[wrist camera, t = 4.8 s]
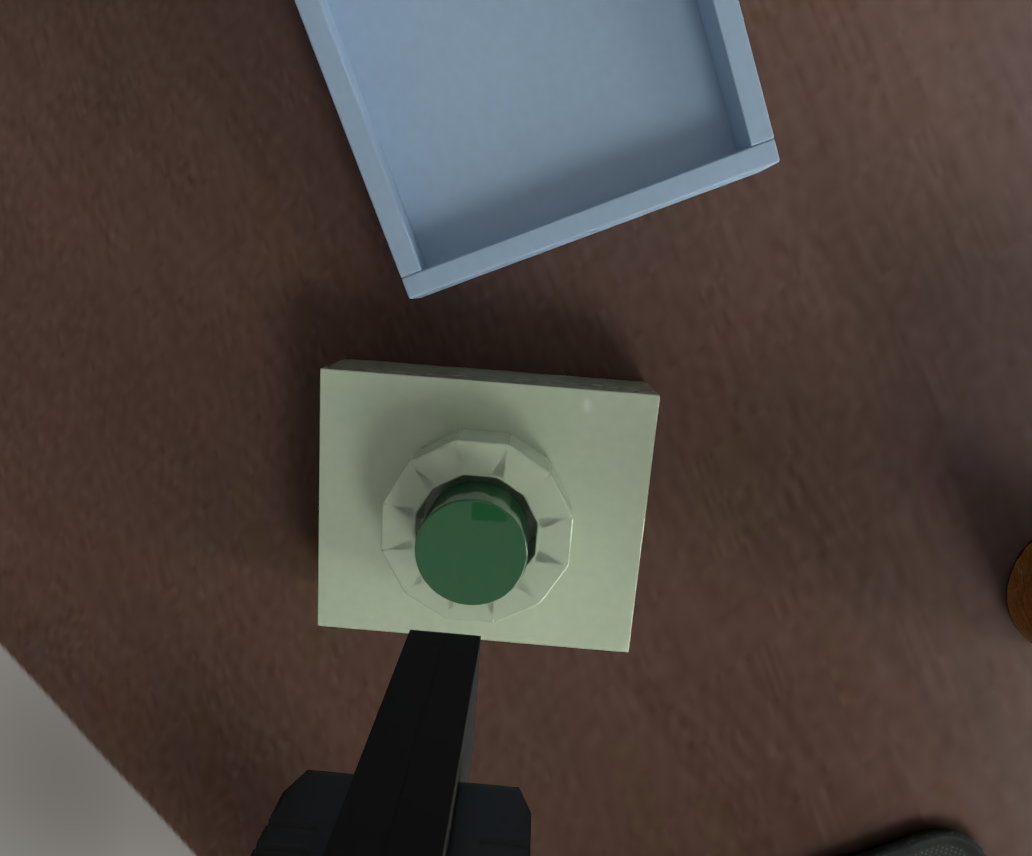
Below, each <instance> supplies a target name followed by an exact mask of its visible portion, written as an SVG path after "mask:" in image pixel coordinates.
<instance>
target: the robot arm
mask: <svg viewBox="0 0 1032 856" xmlns="http://www.w3.org/2000/svg"><path fill="white" fill-rule="evenodd" d="M480 643H481V636H477V635H466V634H454V633H443V632H432V631H420V630H410V631H409V634H408V636H407V639H406V642H405V644H404V647H403V649H402V652H401V655H400V657H399V660H398V662H397V665H396V667H395V670H394V673H393V675H392V678H391V680H390V683H389V686H388V688H387V691H386V693H385V696H384V698H383V701H382V704H381V706H380V709H379V711H378V714H377V717H376V719H375V722H374V724H373V727H372V730H371V732H370V735H369V737H368V740H367V742H366V745H365V748H364V750H363V753H362V755H361V758H360V761H359V763H358V766H357V768H356V771H355V773H354V774H346V773H336V772H325V771H314V770H307V771H306V772H305V773H304V774H303V775H301V776H300V777H299V778H298V779H297V780H296V781H295V782H294V783H293V784H292V785H291V786H289V787H288V788H287V789H286V790H285V791H284V792H283V794H282V795H281V797H280V799H279V801H278V803H277V805H276V807H275V809H274V811H273V813H272V815H271V817H270V819H269V823H268V826H266V827H265V829H264V830H263V832H262V834H261V836H260V838H259V840H258V842H257V846H256V849H254V850H253V852H252V854H251V856H530V838H531V812H530V810H529V808H528V806H527V804H526V802H525V799H524V797H523V795H522V793H521V791H520V789H519V787H508V786H498V785H487V784H476V783H468V780H469V773H470V766H471V760H472V753H473V743H474V729H475V715H476V700H477V686H478V672H479V657H480Z"/></svg>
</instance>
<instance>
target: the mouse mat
mask: <svg viewBox="0 0 1032 856" xmlns="http://www.w3.org/2000/svg"><path fill="white" fill-rule="evenodd" d="M855 856H985V852H984V850H983V849H982V848H981V847H980V846H979V844H978V843H976V842H975V841H974V840H973V839H972V838H970V837H968V836H966V835H964V834H962V833H960V832H956V831H953V830H949V829H932V830H927V831H923V832H919V833H917V834H914V835H911V836H908V837H905V838H903V839H900V840H897V841H895V842H892V843H889V844H885V845H882V846H879V847H877V848H875V849H873V850H869V851H866V852H863V853H860V854H857V855H855Z"/></svg>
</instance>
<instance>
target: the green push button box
mask: <svg viewBox="0 0 1032 856" xmlns="http://www.w3.org/2000/svg"><path fill="white" fill-rule="evenodd" d="M659 402H660V395H659V394H658V393H657V392H656V391H654V390H653V389H652V388H651V387H650V386H649V385H648V384H647V383H646V382H637V381H625V380H612V379H599V378H587V377H574V376H561V375H549V374H536V373H523V372H510V371H498V370H485V369H472V368H460V367H447V366H434V365H422V364H409V363H396V362H384V361H371V360H358V359H345V360H342V361H339V362H337V363H334V364H331V365H329V366H326V367H323V368H321V369H320V447H319V550H318V625H319V626H329V627H341V628H352V629H364V630H376V631H387V632H399V633H409V631H410V630H420V631H432V632H443V633H454V634H466V635H477V636H481V640H491V641H503V642H514V643H526V644H537V645H549V646H560V647H572V648H584V649H595V650H607V651H618V652H628V651H629V644H630V636H631V628H632V620H633V612H634V604H635V595H636V587H637V579H638V571H639V563H640V555H641V547H642V539H643V531H644V523H645V515H646V507H647V499H648V491H649V482H650V474H651V466H652V458H653V450H654V442H655V434H656V426H657V418H658V410H659ZM467 481H484V482H489V483H492V484H495V485H498V486H500V487H502V488H503V489H505V490H507V491H508V492H509V493H511V494H512V495H513V496H514V497H515V498H516V499H517V500H518V502H519V503H520V504H521V506H522V508H523V509H524V512H525V514H526V517H527V520H528V526H529V540H528V559H527V565H526V568H525V571H524V574H523V576H522V578H521V579H520V581H519V582H518V584H517V585H516V586H515V587H514V588H513V589H512V590H511V591H510V592H509V593H508V594H506V595H505V596H503V597H502V598H500V599H498V600H496V601H493V602H490V603H487V604H482V605H464V604H459V603H455V602H452V601H450V600H447V599H445V598H443V597H442V596H440V595H439V594H437V593H436V592H435V591H433V590H432V589H431V588H430V587H429V586H428V584H427V583H426V582H425V581H424V579H423V577H422V576H421V574H420V572H419V570H418V567H417V564H416V559H415V541H416V537H417V534H418V531H419V529H420V527H421V525H422V523H423V521H424V519H425V517H426V515H427V513H428V511H429V509H430V507H431V505H432V503H433V502H434V501H435V499H436V498H437V497H438V496H439V495H440V494H441V493H442V492H444V491H445V490H446V489H448V488H450V487H452V486H453V485H456V484H459V483H462V482H467Z"/></svg>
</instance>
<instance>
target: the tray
mask: <svg viewBox="0 0 1032 856" xmlns="http://www.w3.org/2000/svg"><path fill="white" fill-rule="evenodd" d="M294 1H295V3H296V6H297V8H298V11H299V14H300V16H301V19H302V21H303V24H304V27H305V29H306V32H307V34H308V37H309V40H310V42H311V45H312V47H313V50H314V53H315V55H316V58H317V60H318V63H319V66H320V68H321V71H322V73H323V76H324V79H325V81H326V84H327V86H328V89H329V92H330V94H331V97H332V99H333V102H334V105H335V107H336V110H337V113H338V115H339V118H340V120H341V123H342V126H343V128H344V131H345V133H346V136H347V139H348V141H349V144H350V146H351V149H352V152H353V154H354V157H355V159H356V162H357V165H358V167H359V170H360V172H361V175H362V178H363V180H364V183H365V185H366V188H367V191H368V193H369V196H370V198H371V201H372V204H373V206H374V209H375V211H376V214H377V217H378V219H379V222H380V224H381V227H382V230H383V232H384V235H385V238H386V240H387V243H388V245H389V248H390V251H391V253H392V256H393V258H394V261H395V264H396V266H397V269H398V271H399V274H400V277H402V281H403V284H404V287H405V289H406V292H407V294H408V297H409V298H410V299H414V298H422V297H425V296H427V295H430V294H433V293H435V292H438V291H441V290H443V289H446V288H449V287H452V286H454V285H457V284H460V283H462V282H465V281H468V280H470V279H473V278H476V277H478V276H481V275H484V274H487V273H489V272H492V271H495V270H497V269H500V268H503V267H505V266H508V265H511V264H513V263H516V262H519V261H522V260H524V259H527V258H530V257H532V256H535V255H538V254H540V253H543V252H546V251H548V250H551V249H554V248H557V247H559V246H562V245H565V244H567V243H570V242H573V241H575V240H578V239H581V238H583V237H586V236H589V235H592V234H594V233H597V232H600V231H602V230H605V229H608V228H610V227H613V226H616V225H618V224H621V223H624V222H627V221H629V220H632V219H635V218H637V217H640V216H643V215H645V214H648V213H651V212H653V211H656V210H659V209H662V208H664V207H667V206H670V205H672V204H675V203H678V202H680V201H683V200H686V199H688V198H691V197H694V196H697V195H699V194H702V193H705V192H707V191H710V190H713V189H715V188H718V187H721V186H723V185H726V184H729V183H732V182H734V181H737V180H740V179H742V178H745V177H748V176H750V175H753V174H756V173H758V172H761V171H763V170H764V169H766V168H768V167H770V166H772V165H774V164H776V163H778V162H779V156H778V152H777V148H776V144H775V140H774V139H772V138H774V135H773V131H772V127H771V124H770V120H769V116H768V112H767V108H766V104H765V101H764V97H763V93H762V89H761V85H760V81H759V78H758V74H757V70H756V66H755V62H754V58H753V55H752V51H751V47H750V43H749V39H748V35H747V32H746V28H745V24H744V20H743V16H742V12H741V9H740V5H739V1H738V0H294Z"/></svg>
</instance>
